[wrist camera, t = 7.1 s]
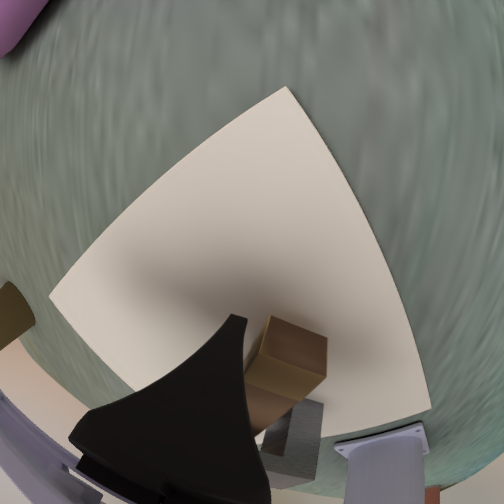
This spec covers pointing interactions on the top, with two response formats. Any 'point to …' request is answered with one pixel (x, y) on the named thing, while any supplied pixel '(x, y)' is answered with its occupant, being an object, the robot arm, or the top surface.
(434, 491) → the canned food
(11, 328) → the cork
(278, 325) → the link
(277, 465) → the keeper
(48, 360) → the top surface
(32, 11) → the teapot
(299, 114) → the board
